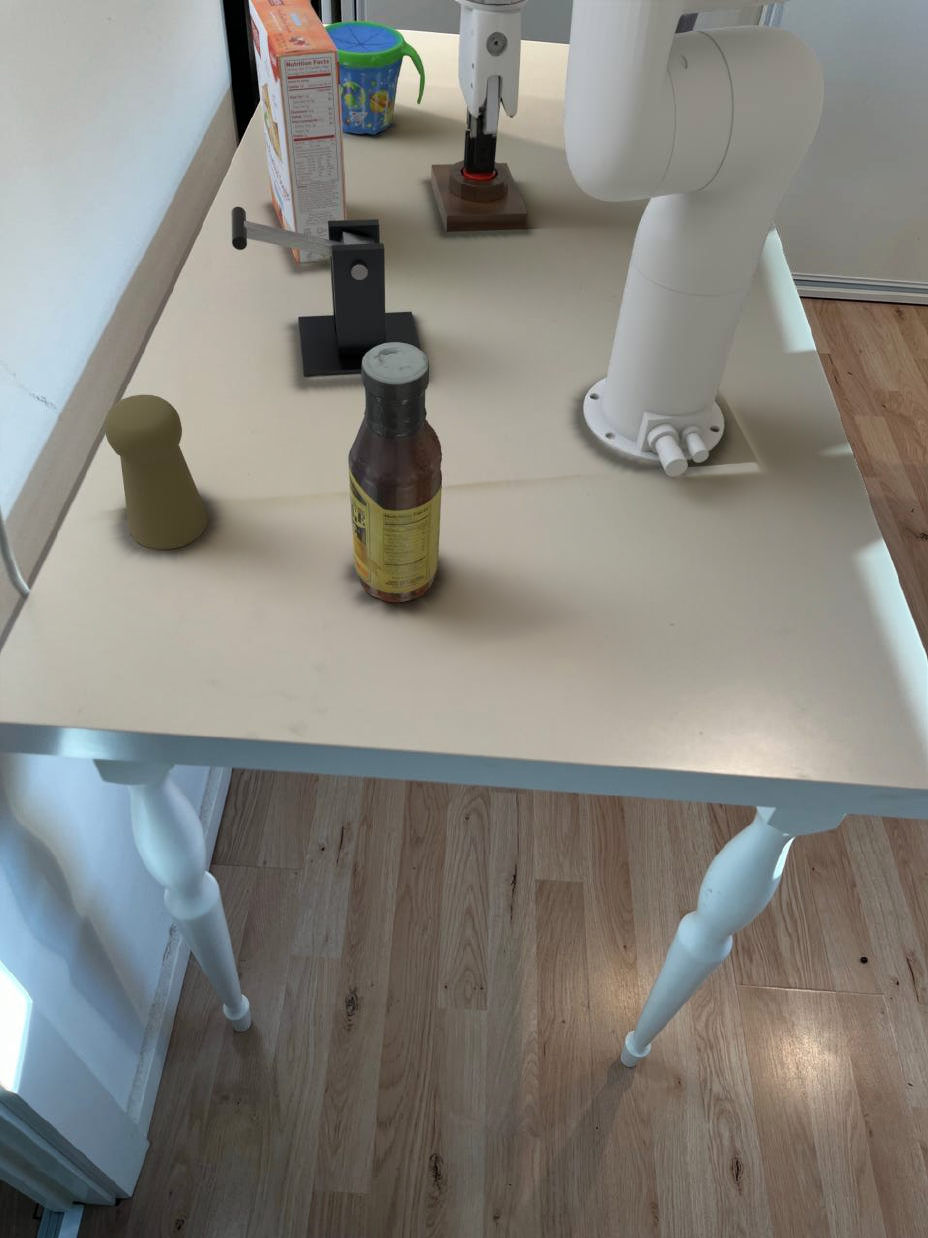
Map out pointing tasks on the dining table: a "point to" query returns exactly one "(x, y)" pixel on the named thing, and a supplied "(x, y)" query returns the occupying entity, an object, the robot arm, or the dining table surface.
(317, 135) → the cracker box
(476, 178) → the button
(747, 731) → the dining table surface
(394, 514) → the sauce bottle
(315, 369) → the bracket
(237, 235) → the lever
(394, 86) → the snack cup
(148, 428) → the olive pawn
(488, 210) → the button block
